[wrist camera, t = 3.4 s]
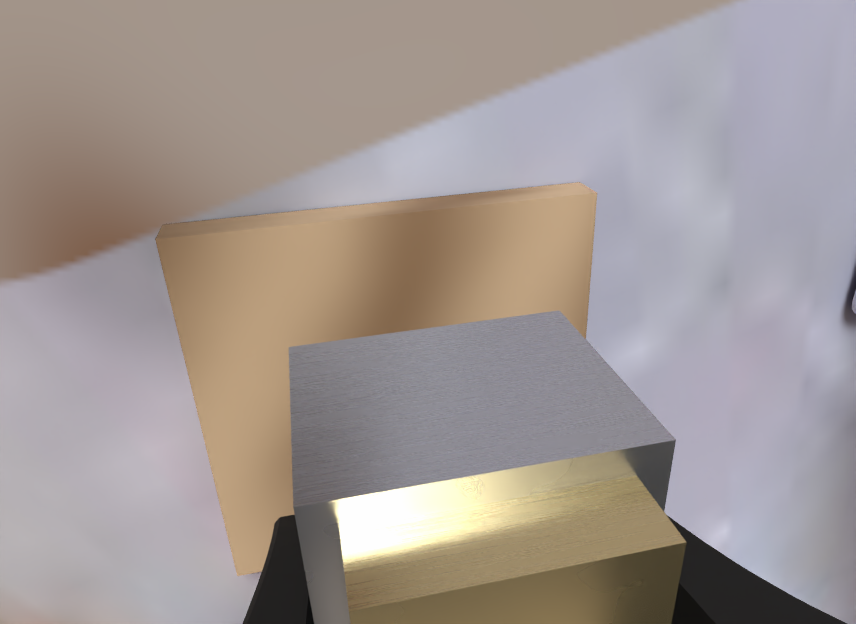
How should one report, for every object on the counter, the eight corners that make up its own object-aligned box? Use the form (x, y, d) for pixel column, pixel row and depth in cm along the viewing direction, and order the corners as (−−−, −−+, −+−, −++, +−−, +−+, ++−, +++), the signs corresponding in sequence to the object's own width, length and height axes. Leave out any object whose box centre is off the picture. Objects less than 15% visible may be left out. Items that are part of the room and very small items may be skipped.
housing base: (559, 310, 12) (675, 439, 9) (542, 604, 16) (620, 781, 12) (288, 346, 11) (293, 507, 8) (336, 649, 15) (355, 852, 11)
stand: (579, 182, 16) (597, 192, 15) (559, 489, 21) (572, 511, 20) (162, 224, 14) (155, 239, 14) (238, 549, 19) (237, 575, 18)
